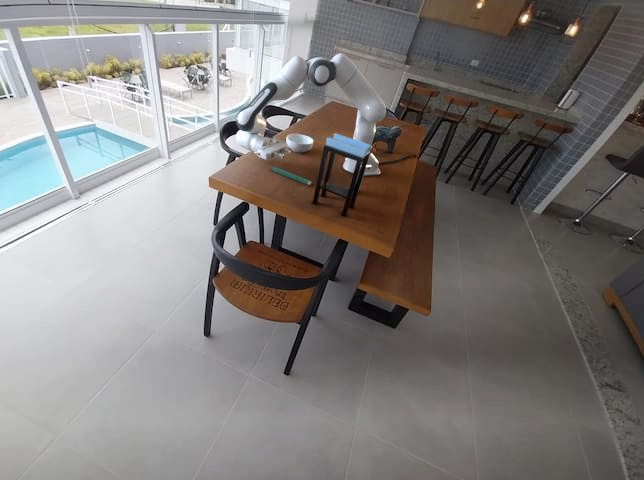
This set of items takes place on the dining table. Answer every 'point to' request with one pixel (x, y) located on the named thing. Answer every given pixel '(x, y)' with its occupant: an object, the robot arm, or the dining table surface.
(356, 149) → the tray
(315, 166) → the dining table surface
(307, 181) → the pencil
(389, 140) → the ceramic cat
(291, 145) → the cereal bowl
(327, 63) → the robot arm
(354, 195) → the stool
